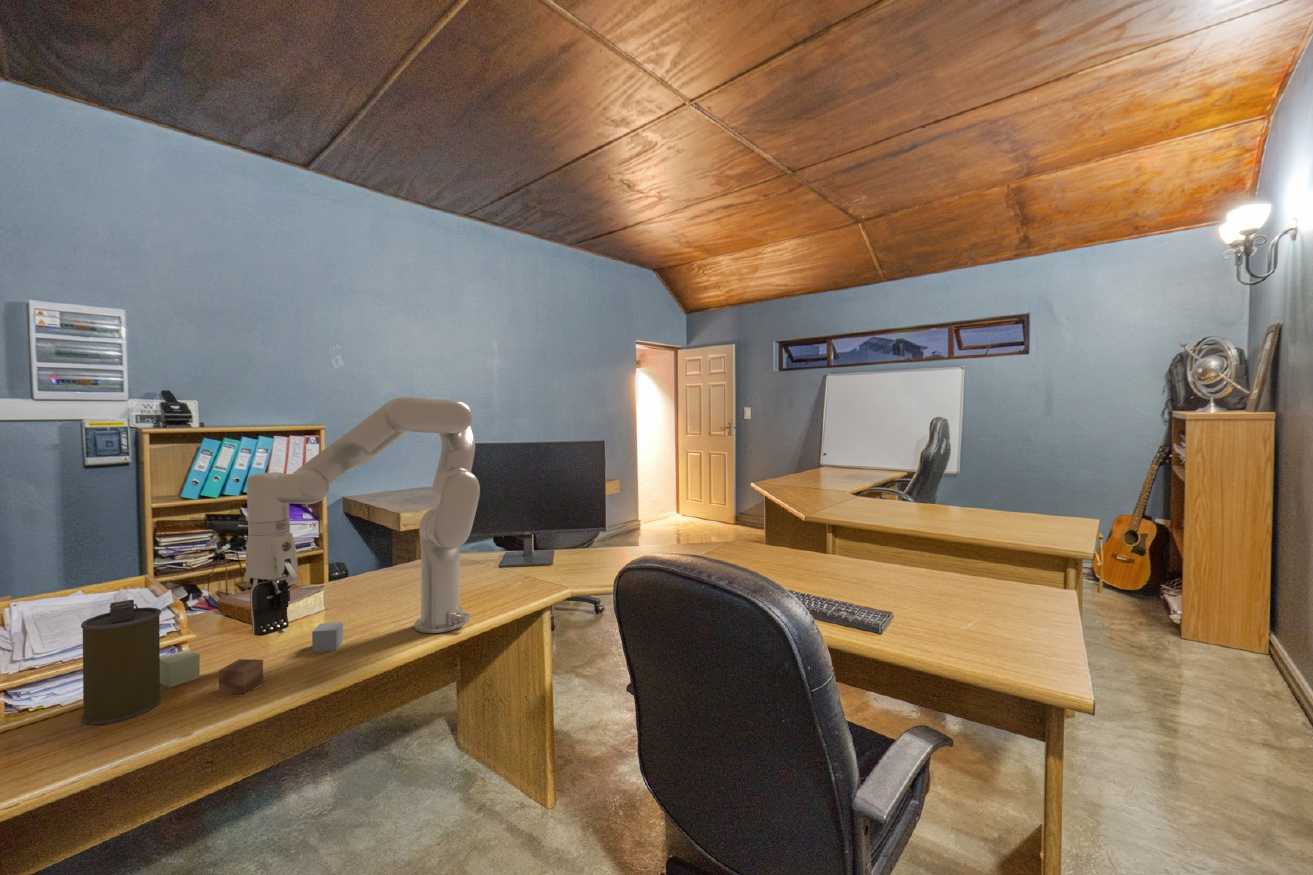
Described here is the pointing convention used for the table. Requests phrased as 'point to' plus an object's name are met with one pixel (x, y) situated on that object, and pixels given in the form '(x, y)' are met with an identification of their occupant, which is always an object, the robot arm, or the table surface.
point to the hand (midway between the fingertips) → (271, 607)
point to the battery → (266, 610)
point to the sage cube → (179, 668)
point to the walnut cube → (240, 677)
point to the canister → (121, 663)
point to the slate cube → (327, 637)
